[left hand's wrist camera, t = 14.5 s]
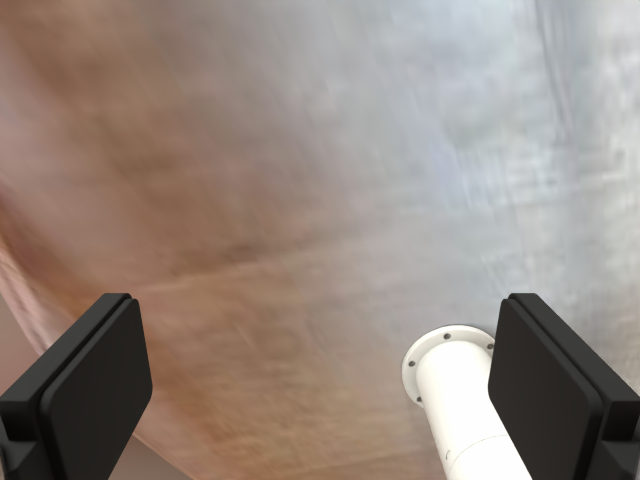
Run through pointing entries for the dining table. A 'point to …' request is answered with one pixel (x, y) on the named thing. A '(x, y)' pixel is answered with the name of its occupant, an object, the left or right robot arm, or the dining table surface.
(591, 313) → the dining table surface
